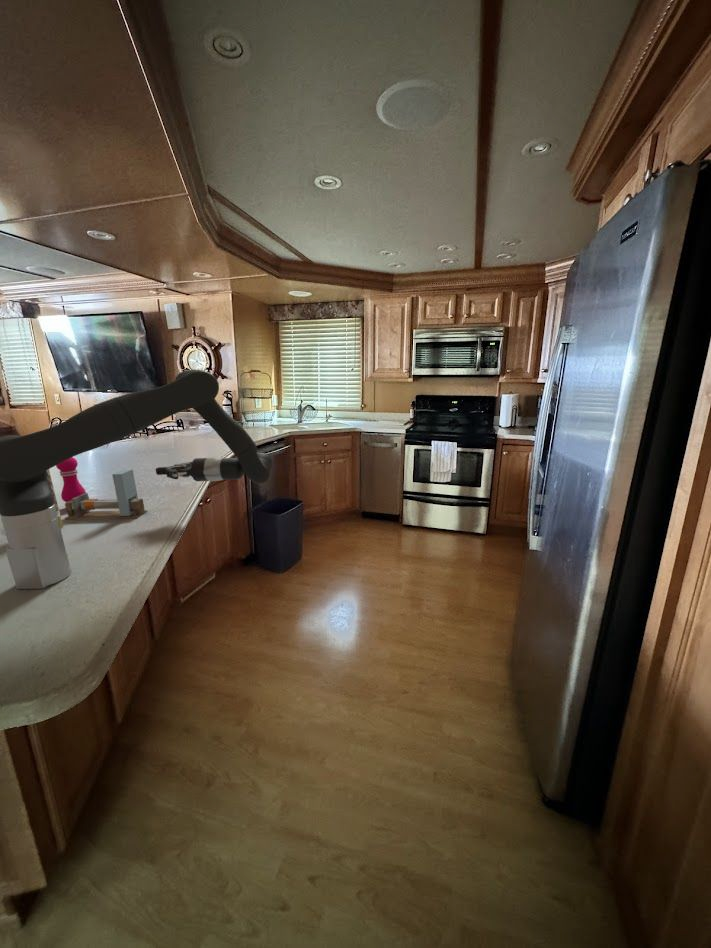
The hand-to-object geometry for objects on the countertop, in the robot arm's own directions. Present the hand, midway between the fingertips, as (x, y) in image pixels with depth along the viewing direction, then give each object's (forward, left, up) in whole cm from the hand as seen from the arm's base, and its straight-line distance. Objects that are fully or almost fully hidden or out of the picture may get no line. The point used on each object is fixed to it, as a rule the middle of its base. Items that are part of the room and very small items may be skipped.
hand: (157, 471), depth 122 cm
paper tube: (-12, +29, -15) cm, 35 cm away
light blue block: (0, +11, -15) cm, 19 cm away
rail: (0, +19, -15) cm, 24 cm away
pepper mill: (+9, +36, -15) cm, 40 cm away
